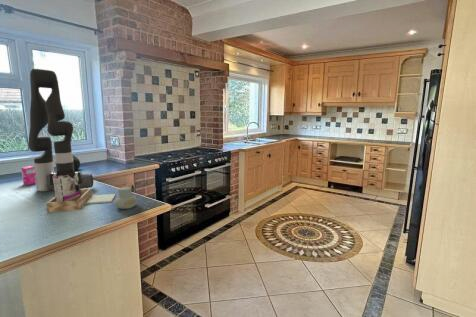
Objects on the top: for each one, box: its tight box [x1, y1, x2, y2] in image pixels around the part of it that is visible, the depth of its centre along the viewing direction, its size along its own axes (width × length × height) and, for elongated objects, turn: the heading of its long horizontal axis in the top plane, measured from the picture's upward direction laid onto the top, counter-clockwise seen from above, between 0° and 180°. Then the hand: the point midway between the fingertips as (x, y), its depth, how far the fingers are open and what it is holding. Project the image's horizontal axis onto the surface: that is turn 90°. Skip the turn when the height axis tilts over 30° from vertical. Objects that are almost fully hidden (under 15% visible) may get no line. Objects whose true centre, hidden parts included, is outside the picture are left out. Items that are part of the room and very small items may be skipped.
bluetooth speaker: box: [47, 173, 94, 191], centre depth 160 cm, size 23×9×10 cm, turn 106°
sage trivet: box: [86, 193, 116, 205], centre depth 145 cm, size 12×12×1 cm
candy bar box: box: [53, 175, 81, 202], centre depth 135 cm, size 11×5×16 cm, turn 168°
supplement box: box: [20, 165, 36, 186], centre depth 173 cm, size 6×6×12 cm
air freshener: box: [113, 186, 138, 210], centre depth 134 cm, size 11×8×10 cm
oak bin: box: [45, 187, 93, 213], centre depth 139 cm, size 14×22×4 cm, turn 14°
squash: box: [72, 154, 81, 171], centre depth 212 cm, size 14×15×15 cm
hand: (68, 192), depth 135 cm, fingers open, 8 cm apart
